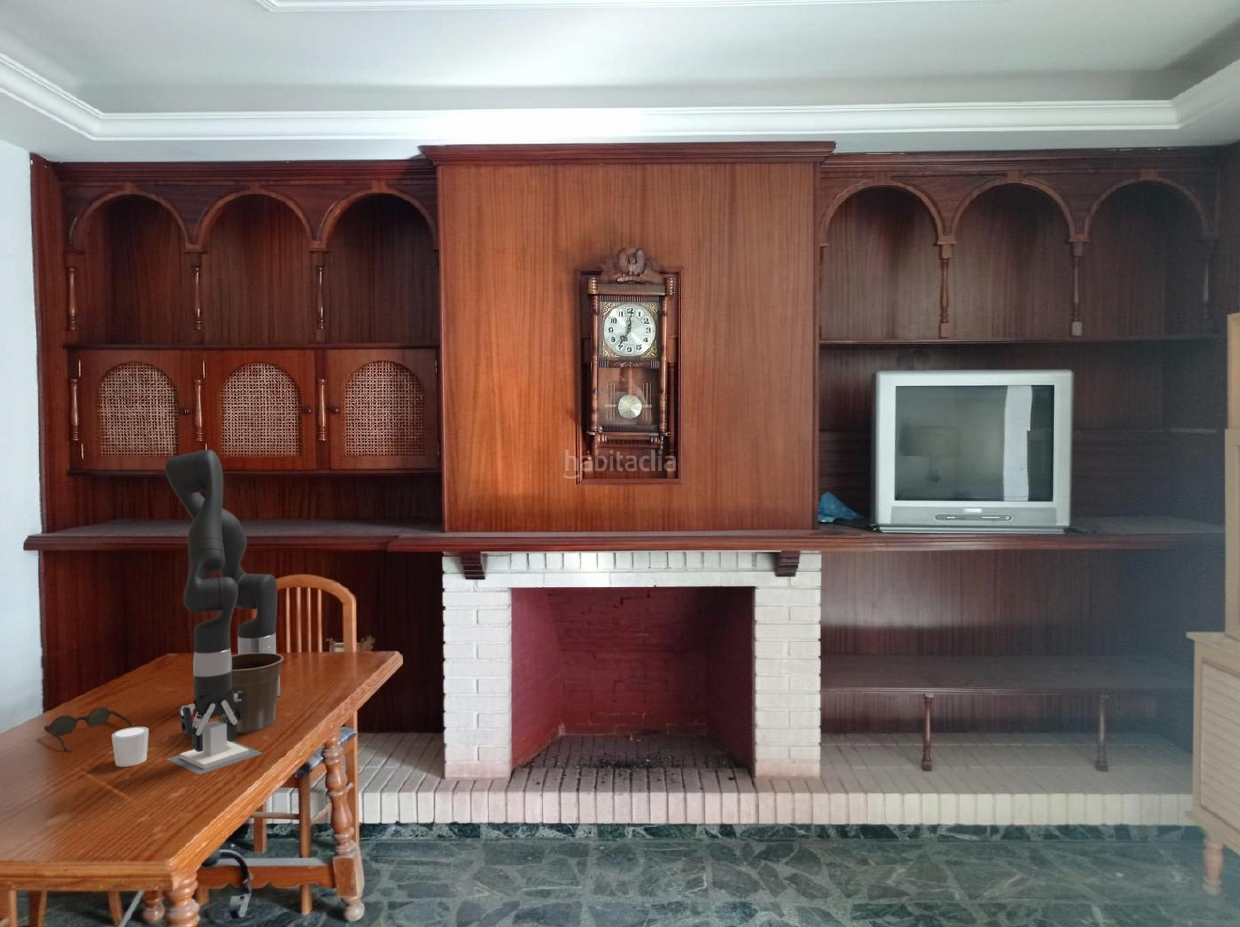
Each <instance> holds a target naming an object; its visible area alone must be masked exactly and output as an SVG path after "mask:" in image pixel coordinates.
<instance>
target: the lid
mask: <svg viewBox="0 0 1240 927" xmlns="http://www.w3.org/2000/svg"><path fill="white" fill-rule="evenodd" d="M201 734H202V735H203V751H201V752H197V751H195V749H191V750H187V751H184V752H181V753H180V754H179V755H180V758H181V759H183V760H185V761H188V762H190V763H192V764H194V765H196V766H198V767H200V768H203V769H206V768H209V767H212V766H215V765H218V764H221V763H224V762H227V761H230V760H233V759H236V758H239V757H242V756H245V755H248V754H249V749H247V748H244V747H242V746H239V745H237V744H235V743H232V742H229V741H227V725H226V723H223V722H221V721H219V720H214V721H212V722H207V724H206V725H205V726H204V728H203V730H202V733H201Z"/></svg>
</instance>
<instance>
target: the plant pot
mask: <svg viewBox="0 0 1240 927" xmlns="http://www.w3.org/2000/svg"><path fill="white" fill-rule="evenodd" d="M231 656H232V692H233V693H235V692H237V691H238V690H240V691H243V692H246V694H247V696H246V710H245V718H244V719H241V720H239V721H238V722H237V724H236V734H249V733H254V732H258V731H259V732H260V731H262V730H266V729H268V728H270V727H271V726H273V725H274V723H275V722H276V712H277V698H278V696H277V689H278V678H279V675H280V676H281V668H282V662H283V661H284V656H283V655H281V654H279V653H276V654H275V653H246V654H238V653H237V654H231ZM229 707H230V708H231V710H232V711H233V713H234V710H235V701H234V698H233V700H232V702H231V704H230V705H229ZM218 721H221V722H223V723H226V724H227V723H228V722H227V721H226V720H225V718H224V717H223V716H222V715H221V716H218Z"/></svg>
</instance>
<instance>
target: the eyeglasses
mask: <svg viewBox="0 0 1240 927" xmlns="http://www.w3.org/2000/svg"><path fill="white" fill-rule="evenodd" d="M110 715H114V716H116V717H117V718H119V719H121V720H123V721H124V722H126V723H127V724H128V725H129V728H131V727H133V725H132V722H131V721H130V720H129V718H127V717H125V716H123V715H121V714H120V713H119V712H117V711H115V710H114V709H112V710H109V709H108V708H107V707H105V706H98V707H95V708H93V709H92V710H91V711H90V712H89V713H88V714H87V715H86V716H79V717H77V718H74V717H73V715H70V714H66V715H65V714H64V715H60V716H58V717H56V718H55V719H54V720H53V721H52V722H51V724H50V725H45V726H44V727H43V729H44V731H46V732H47V733H48V734H50V735H51V736H53V737H55V738H56V739H57V740H59V741H60V743H61V745H62V746H61V747H62V749H63V751H64V752H69V753H73V752H74V751H73V750H71V749H68V748H67V747H66V745H65V742H64V740H63V738H62V737H61V736H60V735H59V734H61V735H65V734H64V733H66V734H69V733H68V732H70V733H72V732H73V731H74V730H75V728H76V726H77V724H78V722H79V721H84V722H85V723H86V725H88V727H90V728H93V727H92V726H94V725H97V726H100V725H103V724H102V723H104V724H105V723H106V722H107V721H108V720H109V717H110ZM99 724H100V725H99ZM94 727H95V726H94Z"/></svg>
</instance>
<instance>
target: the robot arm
mask: <svg viewBox="0 0 1240 927" xmlns="http://www.w3.org/2000/svg"><path fill="white" fill-rule="evenodd" d="M164 468H165V476H166V477H167V478H166V479H167V480H168V483H169V485H170V486H171V489H172V490H173V492H174V493H175V495H176V496H177V498H178V499H179V501H180V503H181V504H182V505H183V507H184V508H185V510H186V511H187V513H188V514H189V516H190V518H191V520H192V524H191V525H190V527H189V531H188V534H187V551H188V553H187V554H188V561H189V562H188V563H189V568H188V576H187V580H186V584H185V588H184V592H183V596H182V598H183V599H182V600H183V605H184V607H185V608H186V609H187V610H188V611H189V612H191V613H193V614H194V613H196V614H197V613H205V612H206V613H207V612H215V611H218V613H217V615H215V617H213V618H211V619H208V620H205V621H202V622H200V623H198V624H196V625H195V626H194V628H193V648H194V649H193V650H194V652H193V663H192V666H193V668H192V669H193V671H192V672H193V693H194V699H193V701H192V703H190V704H188V705H183V704H181V705H180V706H178V711H179V712H178V713H179V719H180V726H181V732H182V734H183V733H184V734H187V736H191V747H192V750H194V749H195V751H197V752H201V751H203V734H202V730H203V728H204V726H205V725H206V724H208V723H209V720H210V719H213V718H215V717H219V716H221V715H222V716H223V717H224V718H225V720H226V721H227V722H228V723H227V724H226V725H227V741H229V742H233V741H234V742H235V739H236V738H237V734H236V724H237V722H238V721H239V720H241V719H244V718H245V710H246V696H247V694H246V692H243V691H240V690H238V691H237V692H235V693H233V692H232V652H231V623H232V619H233V614H234V610H235V608H237V609H241V610H256V616H255V617H254V618H253V619H249V620H247V621H244V622H242V623H240V624H239V625H238V627H237V655H238V654H246V653H275V654H277V644H276V643H277V641H276V637H277V636H276V627H277V621H278V620H277V619H278V596H279V595H278V592H279V591H278V581H277V580H276V577H275V576H274V575H272V574H269V573H268V574H267V573H246V572H245V571H244V570H243V568H242V566H241V561H242V559H243V556H244V554H245V552H246V549H247V545H248V539H247V535H246V533H245V532H244V531H245V530H244V529H243V527H242V525H241V522H240V521H239V519H238V518H237V517H236V516H235V515H234V514H233V513H232V512H230V511H228V510H226V509H224V508H223V500H224V473H223V467H222V463H221V461H220V458H219V456H218V455H217V453H216V452H215V451H214V450H211V449H203V450H198V451H194V452H189V453H186V454H185V453H184V454H180V455H176V456H172V457H170V458H168V459H167V460H166V462H165V466H164ZM204 491H205V495H204V496H205V497H204V496H202V494H201V492H204ZM216 572H219V574H220V577H210V578H203V577H205V576H207V575H211V574H213V573H216ZM280 696H281V674H280V675H279V678H278V689H277V697H280ZM233 698H234V701H235V710H234V713H233V711H232V710H231V708H230V707H229V705H230V704H231V702H232V700H233ZM194 710H195V711H196V714H195V716H194V718H193V721H192V715H193V714H194Z"/></svg>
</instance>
